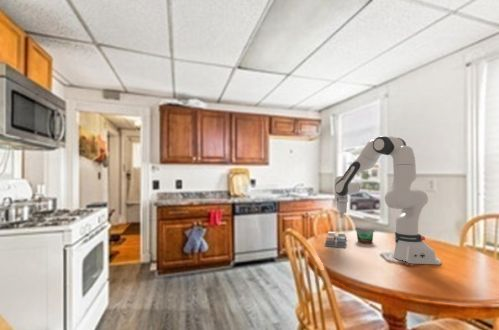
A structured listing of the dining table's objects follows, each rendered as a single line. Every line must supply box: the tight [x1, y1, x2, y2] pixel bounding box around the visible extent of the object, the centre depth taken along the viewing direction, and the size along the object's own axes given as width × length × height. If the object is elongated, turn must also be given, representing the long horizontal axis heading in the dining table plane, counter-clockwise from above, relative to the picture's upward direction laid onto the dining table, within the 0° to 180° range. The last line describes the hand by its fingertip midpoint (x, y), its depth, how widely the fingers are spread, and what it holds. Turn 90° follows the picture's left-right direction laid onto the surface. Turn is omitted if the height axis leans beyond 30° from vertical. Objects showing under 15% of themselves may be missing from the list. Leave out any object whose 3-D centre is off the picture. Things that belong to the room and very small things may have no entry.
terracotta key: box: [326, 236, 334, 242], centre depth 182 cm, size 4×4×3 cm
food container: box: [355, 227, 375, 245], centre depth 185 cm, size 12×6×10 cm, turn 73°
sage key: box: [337, 231, 346, 237], centre depth 193 cm, size 4×4×3 cm
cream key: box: [327, 231, 336, 237], centre depth 195 cm, size 4×4×3 cm
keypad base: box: [325, 234, 348, 249], centre depth 187 cm, size 13×28×2 cm, turn 160°
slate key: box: [338, 237, 345, 243], centre depth 179 cm, size 4×4×3 cm
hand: (341, 217), depth 193 cm, fingers closed
